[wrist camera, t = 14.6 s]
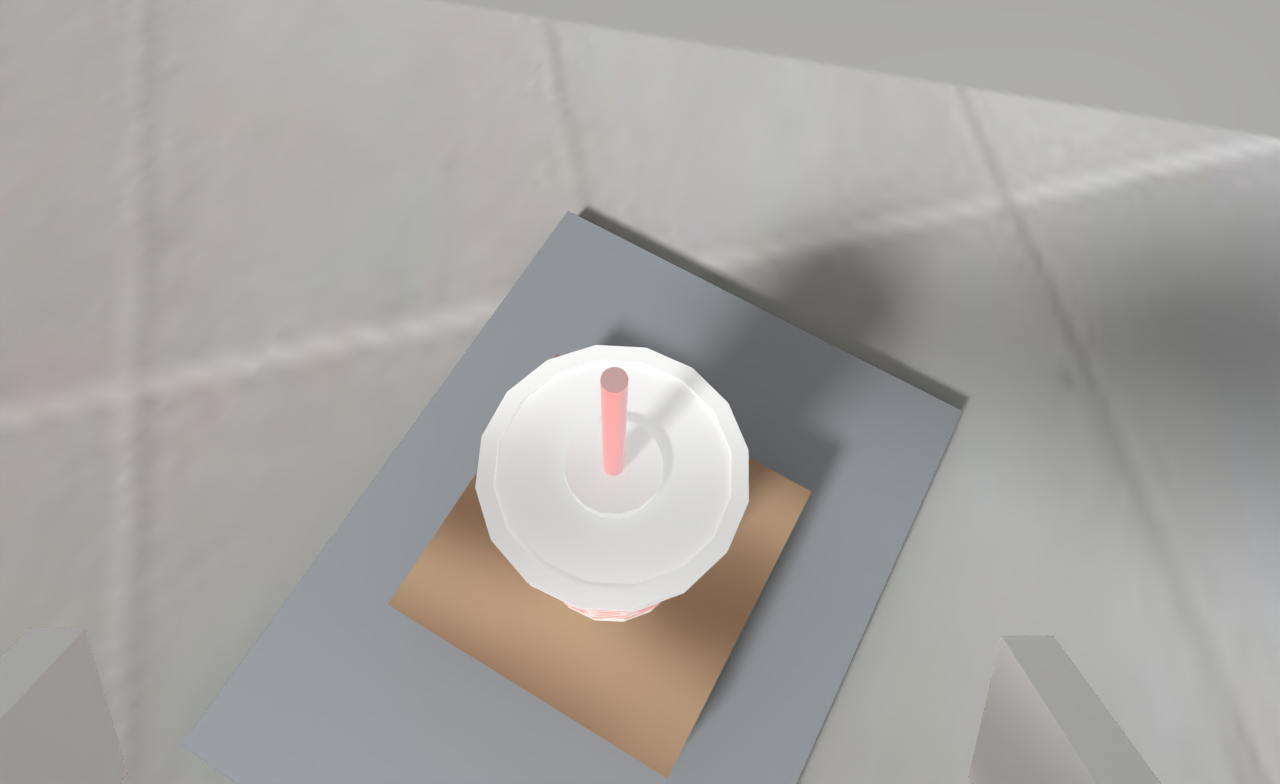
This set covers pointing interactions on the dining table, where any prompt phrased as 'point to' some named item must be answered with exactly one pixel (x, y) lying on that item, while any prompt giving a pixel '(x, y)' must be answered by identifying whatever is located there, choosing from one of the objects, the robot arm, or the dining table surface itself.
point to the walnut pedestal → (602, 624)
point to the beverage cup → (613, 479)
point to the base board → (447, 462)
